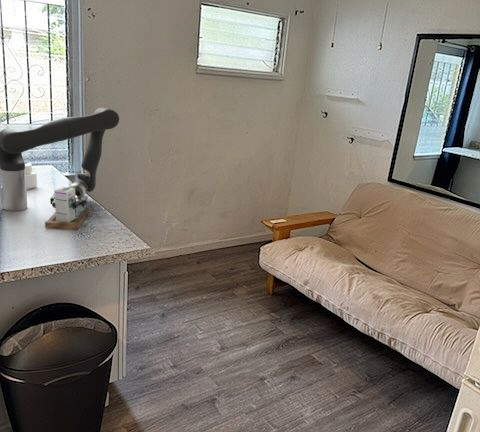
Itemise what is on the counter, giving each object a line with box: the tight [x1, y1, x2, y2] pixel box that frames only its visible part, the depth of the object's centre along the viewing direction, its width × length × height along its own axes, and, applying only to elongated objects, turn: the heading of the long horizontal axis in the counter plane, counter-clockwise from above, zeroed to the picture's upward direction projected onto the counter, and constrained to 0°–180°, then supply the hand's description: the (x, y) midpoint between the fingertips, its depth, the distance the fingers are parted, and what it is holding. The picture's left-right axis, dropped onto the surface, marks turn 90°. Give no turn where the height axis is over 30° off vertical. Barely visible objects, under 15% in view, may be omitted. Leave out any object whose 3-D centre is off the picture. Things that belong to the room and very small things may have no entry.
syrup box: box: [53, 186, 77, 223], centre depth 176 cm, size 6×6×14 cm
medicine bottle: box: [24, 161, 38, 191], centre depth 214 cm, size 7×7×12 cm
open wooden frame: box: [44, 207, 94, 231], centre depth 183 cm, size 14×22×2 cm, turn 6°
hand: (64, 206), depth 174 cm, fingers closed on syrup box, 7 cm apart
